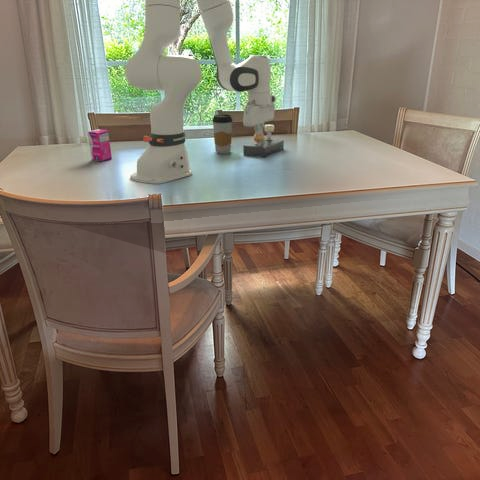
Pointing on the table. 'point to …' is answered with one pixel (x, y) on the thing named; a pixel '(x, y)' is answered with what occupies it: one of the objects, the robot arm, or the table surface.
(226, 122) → the coffee cup
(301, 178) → the table surface
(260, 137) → the knob orange
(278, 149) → the mount
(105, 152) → the supplement box
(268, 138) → the knob cream
